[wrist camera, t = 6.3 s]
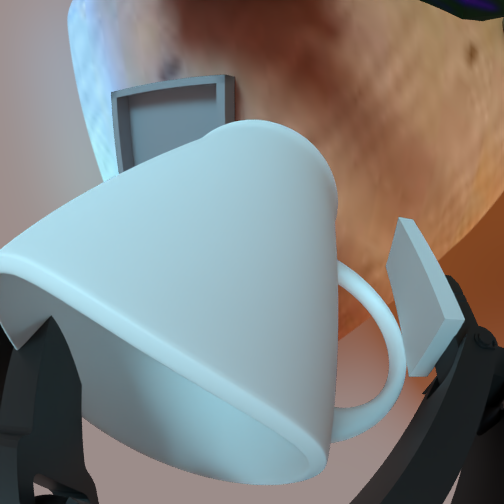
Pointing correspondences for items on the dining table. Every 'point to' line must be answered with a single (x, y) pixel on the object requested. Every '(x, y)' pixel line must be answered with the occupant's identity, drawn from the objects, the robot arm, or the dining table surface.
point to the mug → (205, 305)
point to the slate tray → (168, 115)
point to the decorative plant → (471, 8)
